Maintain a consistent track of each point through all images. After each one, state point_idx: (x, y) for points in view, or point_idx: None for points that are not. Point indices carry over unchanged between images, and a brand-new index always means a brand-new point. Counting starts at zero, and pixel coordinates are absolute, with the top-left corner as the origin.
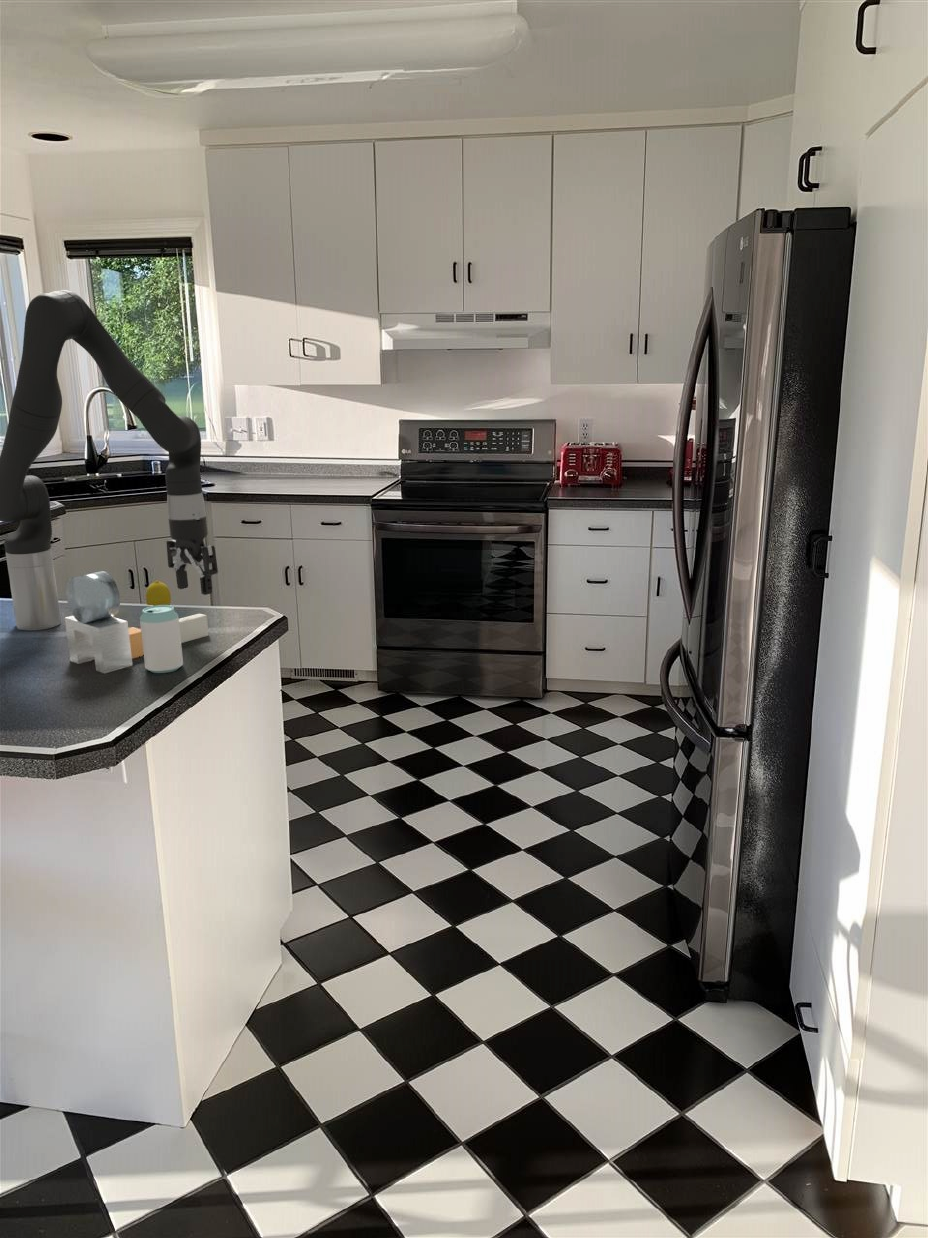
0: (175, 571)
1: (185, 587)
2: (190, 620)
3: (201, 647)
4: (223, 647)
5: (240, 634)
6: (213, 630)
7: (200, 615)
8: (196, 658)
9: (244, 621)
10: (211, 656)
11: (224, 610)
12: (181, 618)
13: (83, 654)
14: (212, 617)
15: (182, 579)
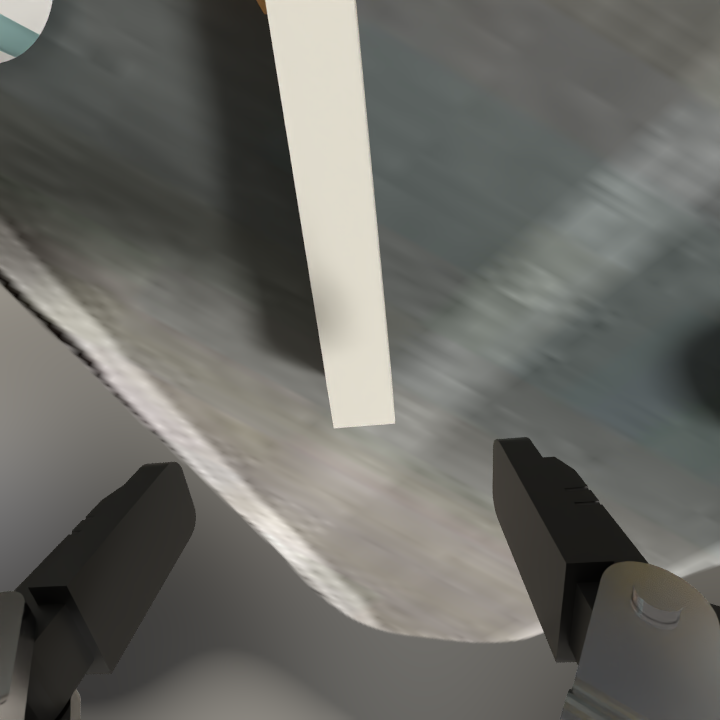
0: (624, 567)
1: (494, 486)
2: (319, 330)
3: (202, 276)
4: (147, 339)
5: (267, 463)
6: (390, 428)
7: (354, 406)
8: (59, 176)
9: (406, 549)
10: (54, 241)
11: None
12: (376, 308)
13: None
14: None
15: (521, 527)
